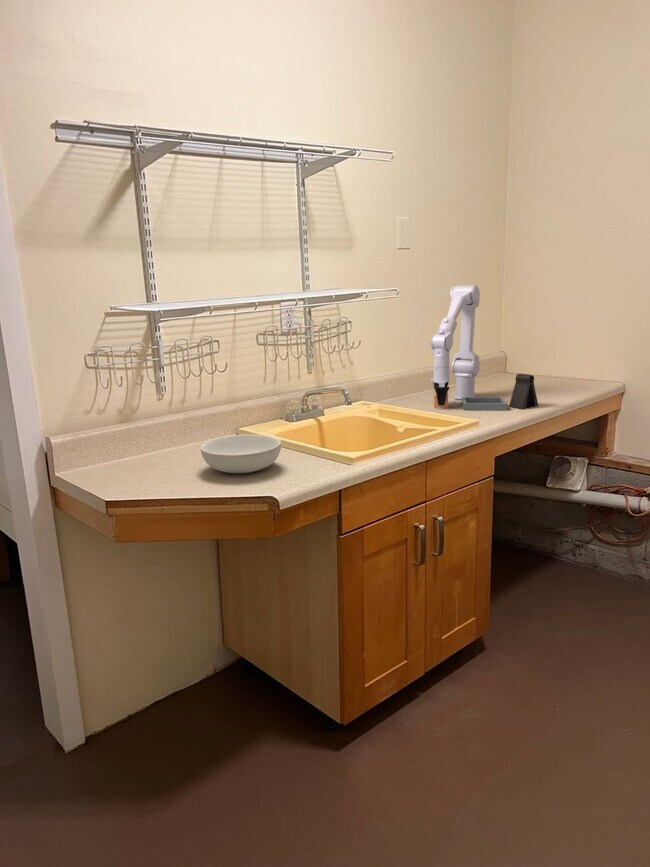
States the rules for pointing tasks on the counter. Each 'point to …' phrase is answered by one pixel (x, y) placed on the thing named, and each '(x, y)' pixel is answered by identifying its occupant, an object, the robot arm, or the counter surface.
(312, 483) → the counter surface
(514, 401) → the phone stand
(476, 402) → the slate tray
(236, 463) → the serving bowl
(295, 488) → the counter surface
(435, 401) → the orange block
